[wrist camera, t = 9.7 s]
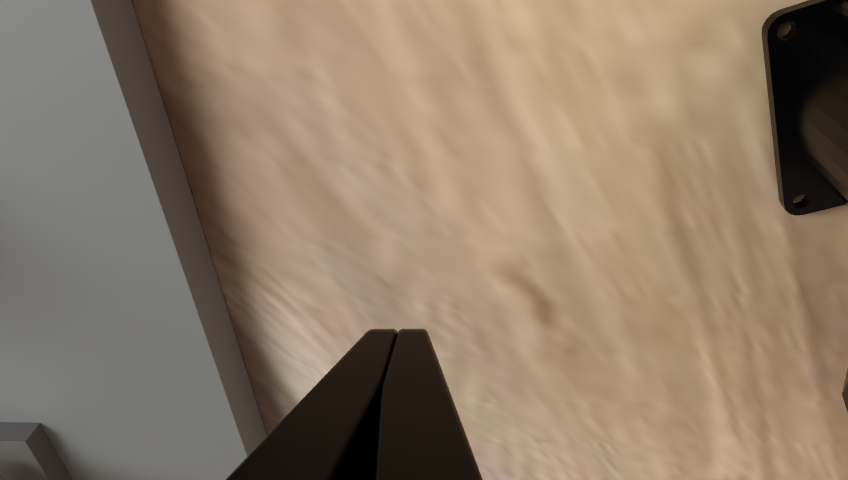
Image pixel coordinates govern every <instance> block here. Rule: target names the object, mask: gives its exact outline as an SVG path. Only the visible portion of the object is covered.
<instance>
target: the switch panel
mask: <svg viewBox="0 0 848 480" xmlns="http://www.w3.org/2000/svg"><path fill="white" fill-rule="evenodd" d="M266 437H267V434H266V431H265V428H264V425H263V422H262V418H261V415H260V412H259V409H258V406H257V402H256V399H255V396H254V393H253V389H252V386H251V383H250V380H249V377H248V373H247V370H246V367H245V364H244V361H243V357H242V354H241V351H240V348H239V344H238V341H237V338H236V335H235V332H234V328H233V325H232V322H231V319H230V316H229V312H228V309H227V306H226V303H225V299H224V296H223V293H222V290H221V287H220V283H219V280H218V277H217V274H216V271H215V267H214V264H213V261H212V258H211V254H210V251H209V248H208V245H207V242H206V238H205V235H204V232H203V229H202V226H201V222H200V219H199V216H198V213H197V209H196V206H195V203H194V200H193V197H192V193H191V190H190V187H189V184H188V181H187V177H186V174H185V171H184V168H183V164H182V161H181V158H180V155H179V152H178V148H177V145H176V142H175V139H174V136H173V132H172V129H171V126H170V123H169V119H168V116H167V113H166V110H165V107H164V103H163V100H162V97H161V94H160V91H159V87H158V84H157V81H156V78H155V74H154V71H153V68H152V65H151V62H150V58H149V55H148V52H147V49H146V46H145V42H144V39H143V36H142V33H141V29H140V26H139V23H138V20H137V17H136V13H135V10H134V7H133V4H132V1H131V0H0V474H1V475H2V477H3V478H4V480H226V478H227V477H228V476H229V475H230V474H231V473H232V472H233V471H234V470H235V469H236V468H237V467H238V466H239V465H240V464H241V463H242V462H243V461H244V460H245V459H246V458H247V457H248V456H249V454H250V453H251V452H252V451H253V450H254V449H255V448H256V447H257V446H258V445H259V444H260V443H261V442H262V441H263V440H264V439H265V438H266Z"/></svg>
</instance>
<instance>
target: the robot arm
mask: <svg viewBox="0 0 848 480" xmlns="http://www.w3.org/2000/svg"><path fill="white" fill-rule="evenodd" d="M785 22H791V29H790V31H789V32H788V33H787V34H786V35H784V36H782V37H777V29H778V28H779V27H780V25H781V24H783V23H785ZM762 41H763V50H764V60H765V69H766V79H767V88H768V98H769V107H770V117H771V126H772V136H773V145H774V155H775V164H776V174H777V183H778V193H779V201H780V203H781V205H782V206H783V208H784V209H785V210H786V211H787V212H788V213H790V214H792V215H804V214H808V213H812V212H816V211H821V210H825V209H829V208H833V207H837V206H841V205H845V204H847V205H848V0H809V1H805V2H802V3H799V4H796V5H793V6H790V7H787V8H784V9H781V10H778V11H776V12H775V13H773V14H771V15H770V16H769V17H768V18H767V19H766V21H765V23H764V25H763V27H762ZM801 194H805V196H804V198H803V199H802V200H801V201H799V202H796V203H793V200H794V199H795V198H796V197H797V196H799V195H801ZM842 396H843V399H844V402H845V405H846V408H847V411H848V370H847V374H846V379H845V383H844V388H843V392H842ZM226 480H483V479H482V477H481V474H480V471H479V469H478V466H477V463H476V461H475V458H474V455H473V453H472V450H471V447H470V445H469V442H468V439H467V437H466V434H465V431H464V429H463V426H462V423H461V420H460V418H459V415H458V412H457V410H456V407H455V404H454V402H453V399H452V396H451V394H450V391H449V388H448V386H447V383H446V380H445V378H444V375H443V372H442V369H441V367H440V364H439V361H438V359H437V356H436V353H435V351H434V348H433V345H432V343H431V340H430V337H429V335H428V332H427V331H426V330H425V329H401V330H400V331H399V332H397V331H396V330H395V329H371V330H369V331H368V332H366V333H365V334H364V336H363V337H362V338H361V339H360V340H359V341H358V342H357V343H356V344H355V345H354V346H353V347H352V348H351V349H350V350H349V351H348V352H347V353H346V354H345V355H344V356H343V357H342V358H341V360H340V361H339V362H338V363H337V364H336V365H335V366H334V367H333V368H332V369H331V370H330V371H329V372H328V373H327V374H326V375H325V376H324V377H323V378H322V379H321V380H320V381H319V382H318V384H317V385H316V386H315V387H314V388H313V389H312V390H311V391H310V392H309V393H308V394H307V395H306V396H305V397H304V398H303V399H302V400H301V401H300V402H299V403H298V404H297V405H296V406H295V408H294V409H293V410H292V411H291V412H290V413H289V414H288V415H287V416H286V417H285V418H284V419H283V420H282V421H281V422H280V423H279V424H278V425H277V426H276V427H275V428H274V429H273V430H272V432H271V433H270V434H269V435H268V436H267V437H266V438H265V439H264V440H263V441H262V442H261V443H260V444H259V445H258V446H257V447H256V448H255V449H254V450H253V451H252V452H251V453H250V454H249V456H248V457H247V458H246V459H245V460H244V461H243V462H242V463H241V464H240V465H239V466H238V467H237V468H236V469H235V470H234V471H233V472H232V473H231V474H230V475H229V476H228V477H227V478H226Z"/></svg>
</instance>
